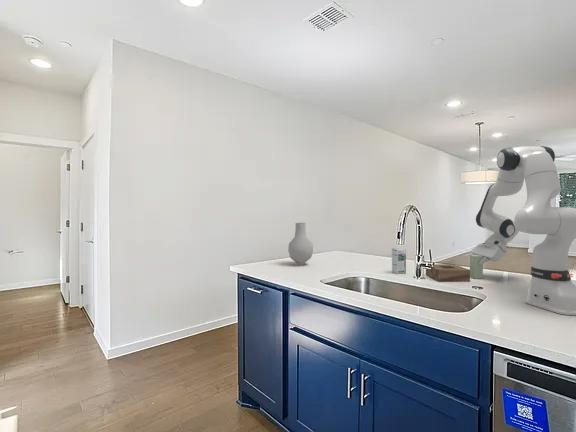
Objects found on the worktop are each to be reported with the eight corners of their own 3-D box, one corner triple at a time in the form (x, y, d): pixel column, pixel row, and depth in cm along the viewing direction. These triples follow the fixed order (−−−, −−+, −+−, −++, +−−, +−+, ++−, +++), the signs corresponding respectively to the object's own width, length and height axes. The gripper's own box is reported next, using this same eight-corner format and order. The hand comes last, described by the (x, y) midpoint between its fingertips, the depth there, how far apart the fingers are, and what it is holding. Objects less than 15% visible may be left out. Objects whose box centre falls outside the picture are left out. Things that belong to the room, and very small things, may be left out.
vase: (283, 264, 222) (283, 223, 221) (300, 261, 233) (300, 221, 232) (300, 268, 209) (300, 224, 208) (318, 264, 220) (317, 222, 219)
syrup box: (397, 274, 190) (397, 249, 189) (391, 272, 195) (391, 247, 195) (406, 273, 191) (406, 248, 190) (399, 271, 197) (400, 247, 196)
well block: (469, 281, 171) (470, 269, 170) (439, 281, 170) (439, 270, 170) (453, 274, 187) (453, 264, 186) (425, 275, 186) (425, 264, 186)
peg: (482, 278, 177) (483, 256, 176) (474, 278, 177) (474, 256, 176) (477, 276, 181) (478, 254, 181) (469, 276, 181) (469, 254, 181)
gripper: (478, 238, 189) (461, 255, 189) (502, 243, 168) (483, 262, 168) (486, 246, 189) (469, 263, 189) (511, 251, 168) (491, 270, 169)
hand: (476, 263), depth 178 cm, fingers closed on peg, 4 cm apart
